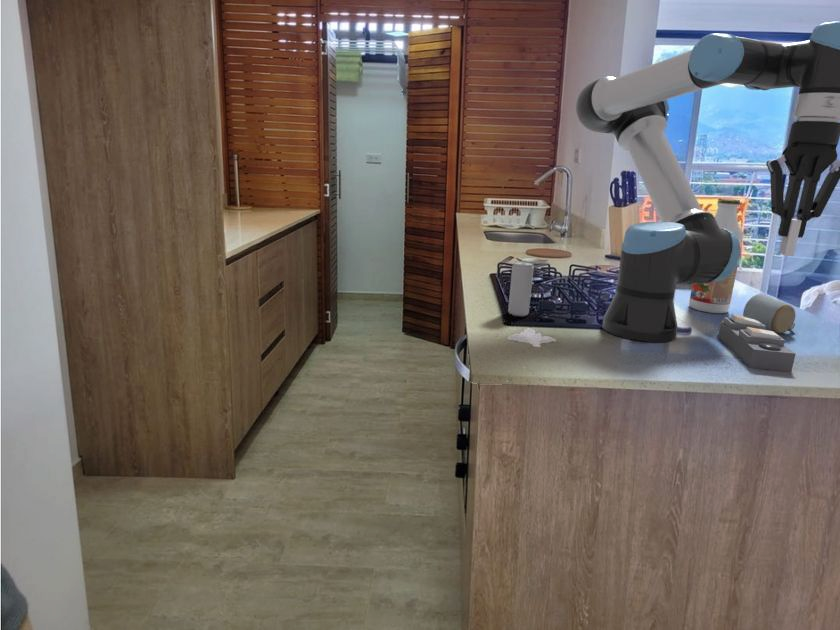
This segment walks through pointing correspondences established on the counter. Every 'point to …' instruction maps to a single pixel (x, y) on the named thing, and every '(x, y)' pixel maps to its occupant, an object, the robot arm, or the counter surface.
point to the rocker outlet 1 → (744, 320)
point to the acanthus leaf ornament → (531, 337)
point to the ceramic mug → (770, 313)
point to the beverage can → (520, 288)
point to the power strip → (756, 347)
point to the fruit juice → (719, 293)
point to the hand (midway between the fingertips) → (785, 254)
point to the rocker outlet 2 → (761, 333)
